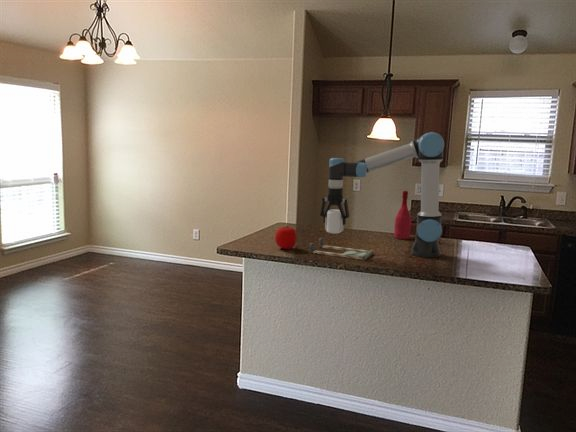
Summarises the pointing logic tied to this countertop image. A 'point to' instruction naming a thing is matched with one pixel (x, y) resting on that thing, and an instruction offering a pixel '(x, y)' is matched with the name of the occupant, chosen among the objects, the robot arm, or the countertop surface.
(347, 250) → the bay
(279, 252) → the countertop surface
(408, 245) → the countertop surface
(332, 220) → the beverage can
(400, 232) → the wine bottle
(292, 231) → the tomato
